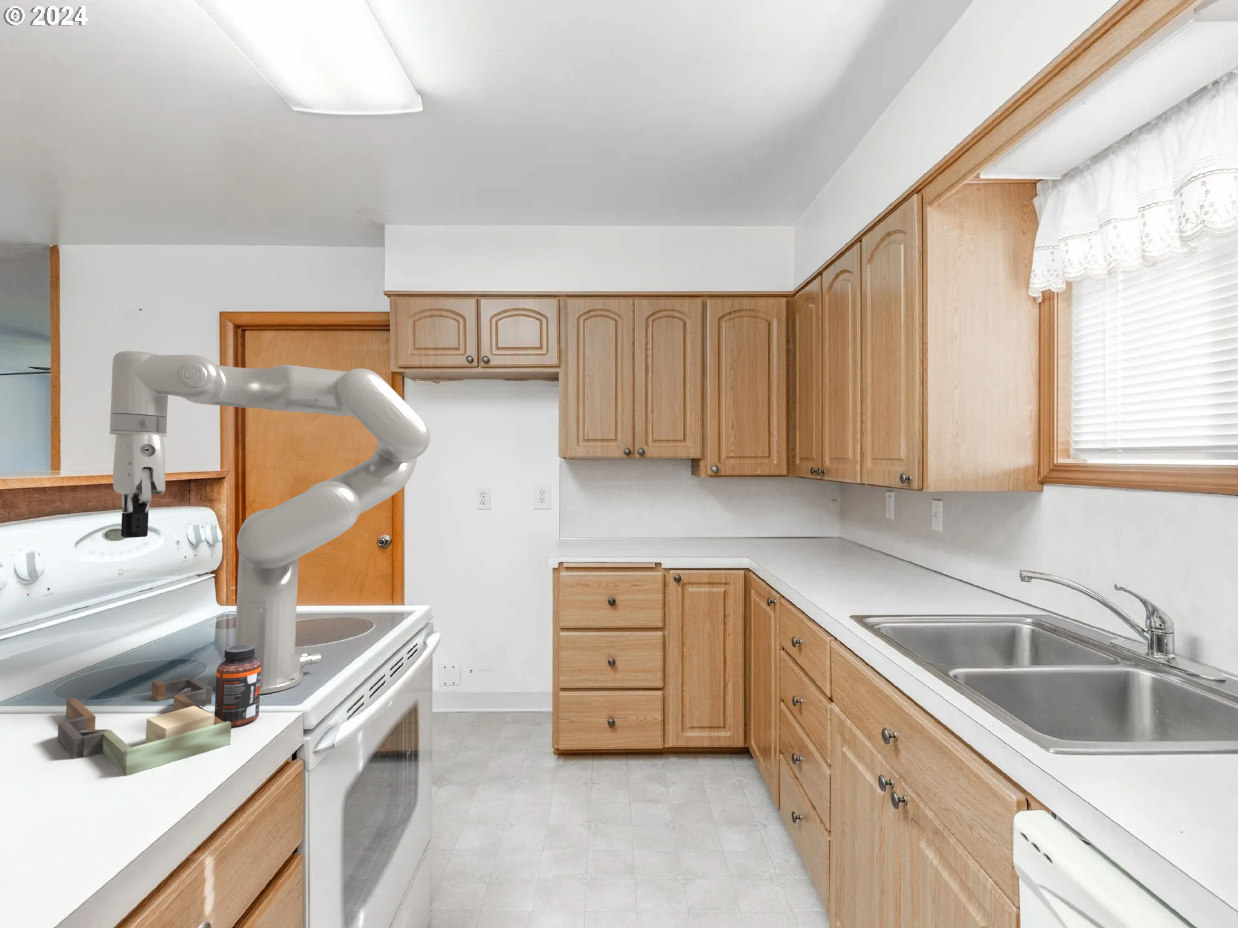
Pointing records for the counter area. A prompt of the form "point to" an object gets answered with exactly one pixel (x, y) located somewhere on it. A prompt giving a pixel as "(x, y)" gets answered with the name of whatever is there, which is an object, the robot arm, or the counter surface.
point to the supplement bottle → (238, 686)
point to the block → (177, 723)
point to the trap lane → (88, 741)
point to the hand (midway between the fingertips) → (134, 536)
